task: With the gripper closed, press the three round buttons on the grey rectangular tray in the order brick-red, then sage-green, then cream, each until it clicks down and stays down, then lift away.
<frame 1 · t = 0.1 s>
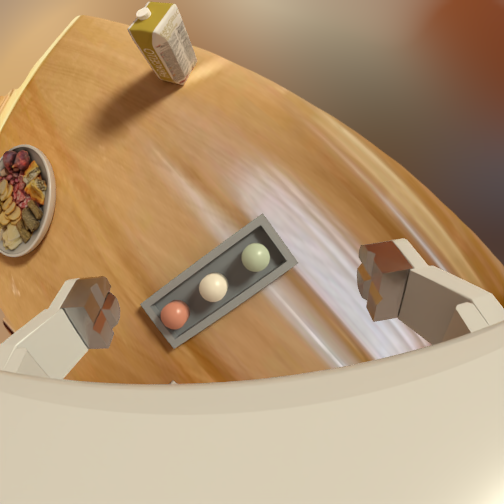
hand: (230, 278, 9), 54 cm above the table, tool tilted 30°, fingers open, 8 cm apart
bowl: (24, 201, 64), on the table
brick button: (175, 314, 59), point 5 cm above the table, slide at 0.0 cm
sage button: (255, 256, 58), point 5 cm above the table, slide at 0.0 cm
grey rectangular tray: (217, 282, 64), on the table
cream button: (214, 286, 59), point 5 cm above the table, slide at 0.0 cm
juice carton: (179, 71, 61), on the table
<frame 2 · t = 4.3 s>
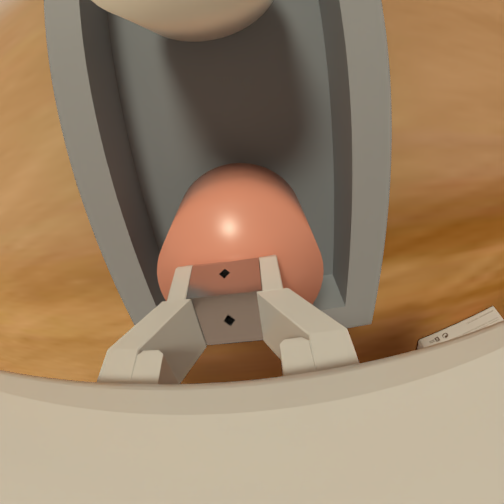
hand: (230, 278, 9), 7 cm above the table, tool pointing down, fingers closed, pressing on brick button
brick button: (240, 247, 11), point 5 cm above the table, slide at 0.8 cm, touching gripper
grey rectangular tray: (211, 0, 10), on the table
supplement box: (450, 348, 23), on the table
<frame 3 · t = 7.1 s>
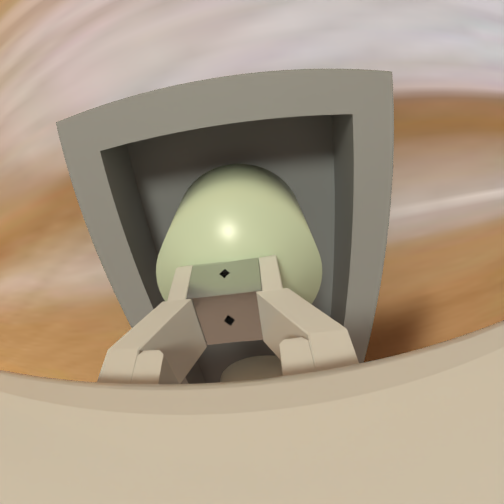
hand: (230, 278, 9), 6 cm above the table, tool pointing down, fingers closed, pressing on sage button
sage button: (239, 248, 11), point 4 cm above the table, slide at 1.1 cm, touching gripper
grey rectangular tray: (260, 340, 20), on the table
cream button: (265, 408, 15), point 5 cm above the table, slide at 0.0 cm
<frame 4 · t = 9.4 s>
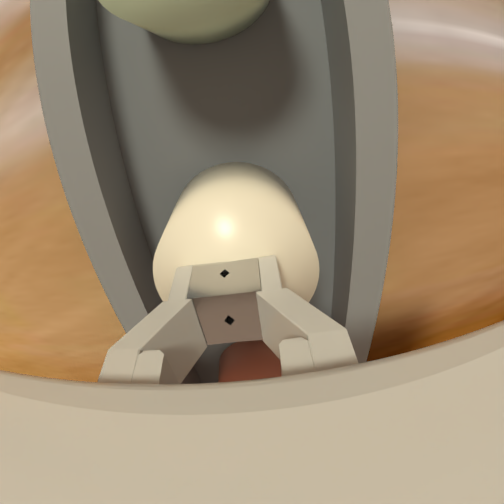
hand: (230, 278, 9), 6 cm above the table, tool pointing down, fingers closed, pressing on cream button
brick button: (262, 389, 17), point 4 cm above the table, slide at 1.8 cm
grey rectangular tray: (236, 205, 14), on the table
cream button: (236, 246, 11), point 4 cm above the table, slide at 1.6 cm, touching gripper
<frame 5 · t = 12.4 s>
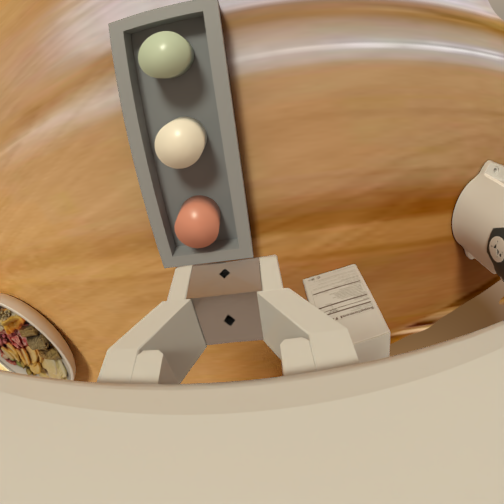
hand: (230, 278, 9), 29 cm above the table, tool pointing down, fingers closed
bowl: (26, 334, 53), on the table
brick button: (198, 221, 36), point 4 cm above the table, slide at 1.8 cm
sage button: (167, 55, 26), point 4 cm above the table, slide at 1.8 cm
grey rectangular tray: (187, 135, 34), on the table
cream button: (181, 141, 31), point 4 cm above the table, slide at 1.8 cm
supplement box: (333, 290, 48), on the table
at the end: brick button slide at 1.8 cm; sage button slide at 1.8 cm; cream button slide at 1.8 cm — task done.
